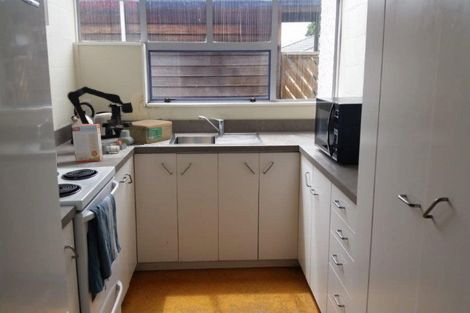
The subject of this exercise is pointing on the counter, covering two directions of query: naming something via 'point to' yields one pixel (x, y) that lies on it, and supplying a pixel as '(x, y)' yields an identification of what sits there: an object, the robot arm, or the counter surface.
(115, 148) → the cartridge
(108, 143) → the housing
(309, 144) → the counter surface
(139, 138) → the paper package
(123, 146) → the button collar
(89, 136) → the cracker box
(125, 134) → the air freshener
